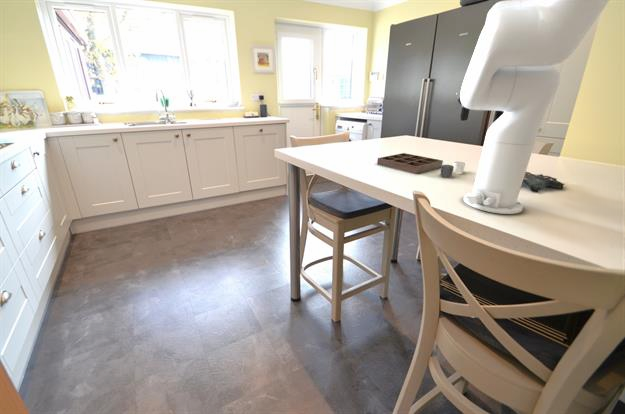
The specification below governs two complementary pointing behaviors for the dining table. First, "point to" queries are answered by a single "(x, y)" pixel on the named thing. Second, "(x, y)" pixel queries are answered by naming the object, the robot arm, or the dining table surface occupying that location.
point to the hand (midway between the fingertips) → (479, 121)
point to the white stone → (458, 167)
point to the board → (410, 163)
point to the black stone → (446, 171)
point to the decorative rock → (540, 181)
